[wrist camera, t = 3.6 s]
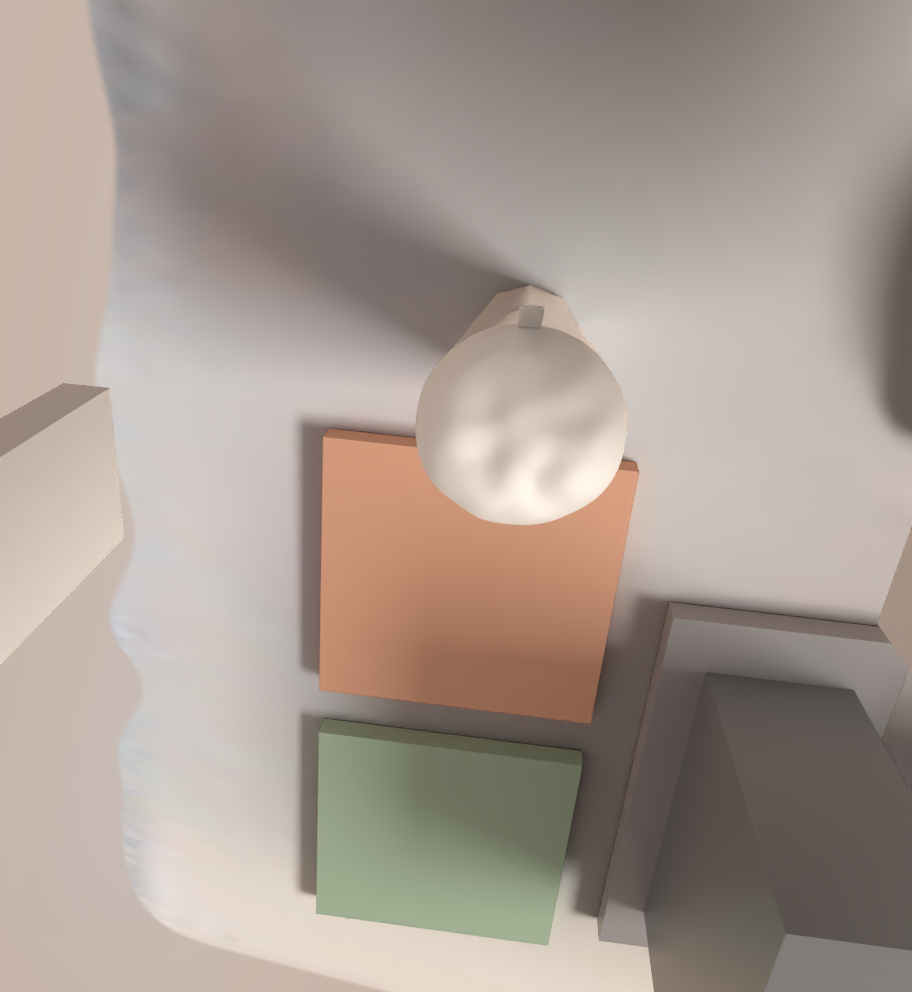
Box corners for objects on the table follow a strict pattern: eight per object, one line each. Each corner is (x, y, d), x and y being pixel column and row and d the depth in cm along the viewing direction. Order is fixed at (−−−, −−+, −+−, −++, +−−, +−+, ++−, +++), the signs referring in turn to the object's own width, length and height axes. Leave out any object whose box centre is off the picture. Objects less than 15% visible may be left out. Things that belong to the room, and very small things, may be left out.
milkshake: (614, 239, 24) (662, 315, 14) (590, 415, 26) (619, 577, 17) (456, 228, 24) (407, 295, 15) (447, 404, 26) (399, 556, 17)
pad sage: (323, 718, 32) (318, 732, 31) (581, 751, 31) (582, 766, 31) (320, 897, 36) (315, 913, 35) (547, 928, 36) (547, 945, 35)
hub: (669, 601, 28) (740, 863, 18) (905, 629, 28) (1109, 912, 18) (597, 919, 35) (620, 1236, 25) (786, 945, 35) (886, 1277, 25)
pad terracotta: (328, 428, 27) (322, 437, 26) (636, 462, 26) (639, 471, 26) (324, 676, 31) (319, 690, 30) (589, 709, 31) (590, 724, 30)
